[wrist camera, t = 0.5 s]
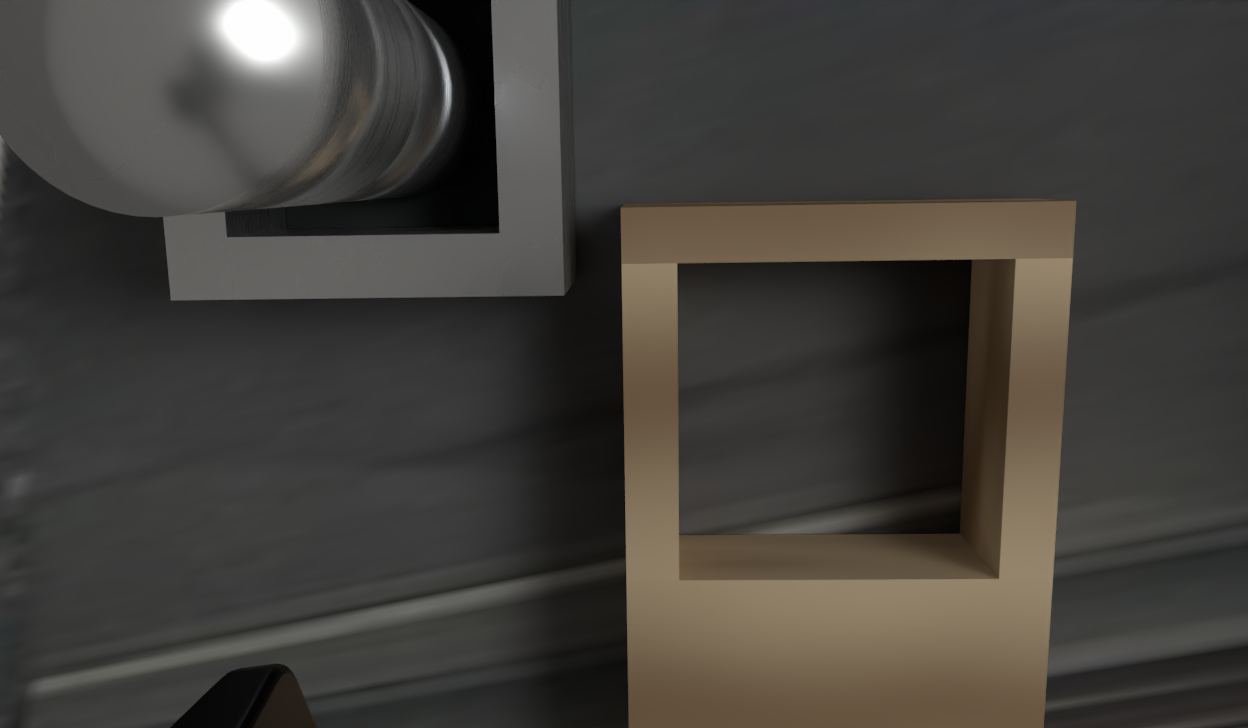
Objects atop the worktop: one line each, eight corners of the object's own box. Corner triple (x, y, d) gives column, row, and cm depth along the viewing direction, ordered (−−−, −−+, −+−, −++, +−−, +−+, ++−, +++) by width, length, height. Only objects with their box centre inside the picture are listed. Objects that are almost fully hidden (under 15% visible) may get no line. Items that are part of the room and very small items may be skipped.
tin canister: (490, 196, 21) (331, 215, 10) (314, 198, 21) (-16, 219, 11) (483, 10, 20) (307, -166, 10) (301, 13, 20) (-65, -158, 10)
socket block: (576, 279, 21) (564, 295, 18) (238, 283, 21) (170, 300, 18) (567, -85, 20) (553, -131, 17) (207, -77, 20) (131, -121, 17)
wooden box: (991, 832, 23) (1032, 910, 21) (633, 831, 23) (631, 909, 21) (1025, 197, 20) (1076, 200, 18) (624, 204, 21) (621, 207, 18)
